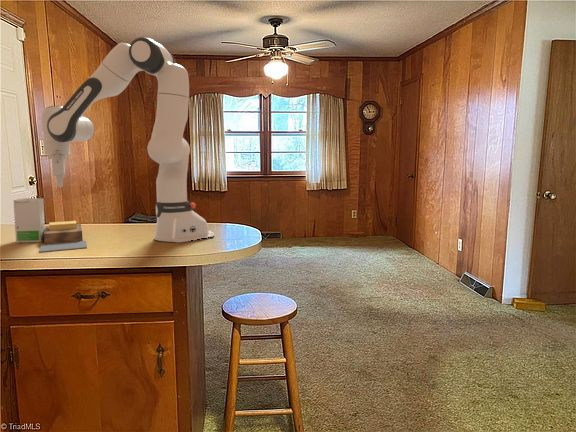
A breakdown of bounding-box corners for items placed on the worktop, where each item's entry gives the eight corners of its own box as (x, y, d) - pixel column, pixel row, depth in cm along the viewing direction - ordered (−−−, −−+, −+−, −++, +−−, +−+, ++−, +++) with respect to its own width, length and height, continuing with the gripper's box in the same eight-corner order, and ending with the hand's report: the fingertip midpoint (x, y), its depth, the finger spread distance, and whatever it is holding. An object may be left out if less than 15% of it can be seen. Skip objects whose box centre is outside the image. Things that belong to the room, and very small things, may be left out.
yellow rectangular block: (76, 225, 159) (76, 220, 159) (77, 228, 154) (76, 223, 153) (49, 227, 155) (49, 222, 154) (49, 230, 150) (48, 225, 149)
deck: (81, 233, 164) (80, 223, 163) (82, 241, 150) (81, 230, 149) (46, 236, 158) (45, 226, 158) (44, 245, 144) (43, 233, 144)
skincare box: (15, 243, 147) (11, 200, 144) (21, 239, 153) (17, 197, 150) (42, 242, 149) (38, 199, 146) (47, 238, 155) (43, 197, 153)
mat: (85, 241, 150) (85, 240, 150) (87, 248, 140) (87, 246, 140) (41, 245, 143) (41, 244, 143) (39, 252, 134) (39, 251, 134)
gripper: (66, 150, 149) (69, 188, 151) (66, 150, 166) (69, 184, 169) (46, 150, 146) (50, 189, 148) (49, 150, 163) (51, 184, 166)
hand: (60, 186), depth 158 cm, fingers closed
